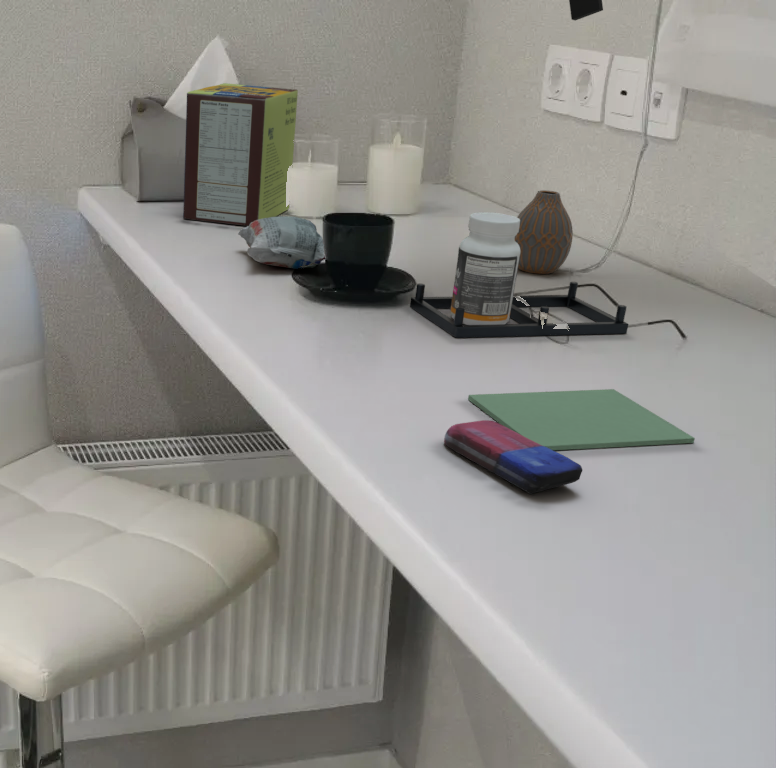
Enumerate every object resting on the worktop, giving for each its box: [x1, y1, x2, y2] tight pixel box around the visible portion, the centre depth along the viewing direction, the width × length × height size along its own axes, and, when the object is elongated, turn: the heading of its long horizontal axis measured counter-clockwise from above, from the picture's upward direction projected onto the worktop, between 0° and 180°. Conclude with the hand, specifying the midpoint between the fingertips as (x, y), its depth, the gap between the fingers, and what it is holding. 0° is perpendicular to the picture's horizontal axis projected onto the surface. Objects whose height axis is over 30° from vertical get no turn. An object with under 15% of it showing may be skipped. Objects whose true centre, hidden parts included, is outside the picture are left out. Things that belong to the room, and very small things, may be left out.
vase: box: [515, 189, 574, 275], centre depth 133 cm, size 7×7×9 cm
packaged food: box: [237, 215, 326, 270], centre depth 130 cm, size 9×12×5 cm
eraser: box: [443, 419, 584, 495], centre depth 79 cm, size 11×4×2 cm, turn 26°
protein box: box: [182, 82, 299, 227], centre depth 152 cm, size 10×15×16 cm
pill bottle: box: [449, 211, 520, 325], centre depth 111 cm, size 6×6×10 cm
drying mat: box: [467, 388, 696, 451], centre depth 89 cm, size 13×11×1 cm
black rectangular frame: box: [409, 281, 629, 339], centre depth 114 cm, size 18×11×2 cm, turn 105°
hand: (551, 5), depth 101 cm, fingers open, 13 cm apart
